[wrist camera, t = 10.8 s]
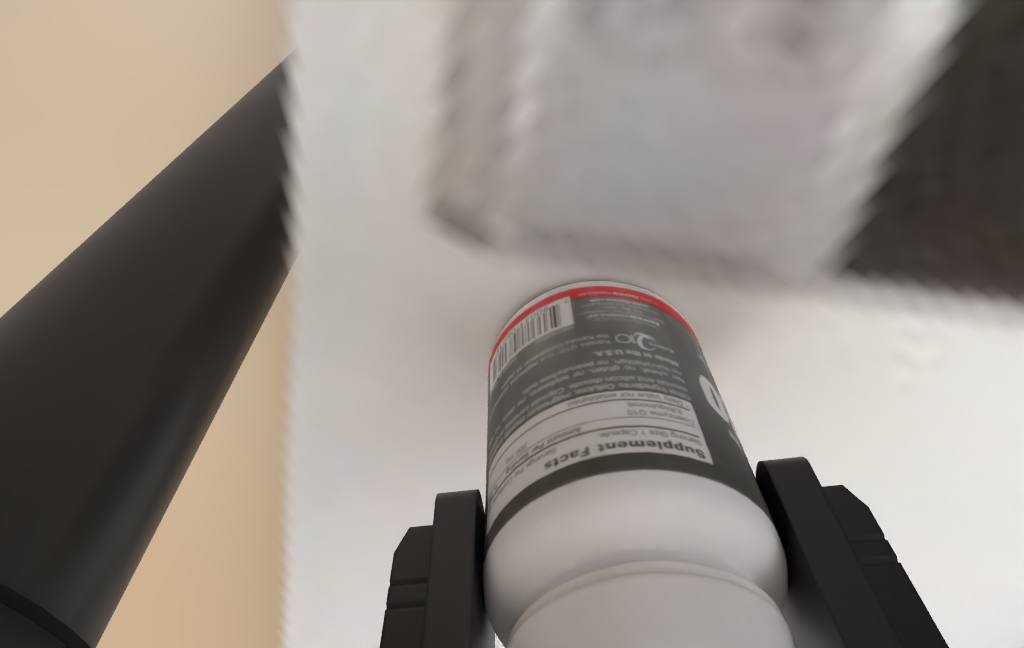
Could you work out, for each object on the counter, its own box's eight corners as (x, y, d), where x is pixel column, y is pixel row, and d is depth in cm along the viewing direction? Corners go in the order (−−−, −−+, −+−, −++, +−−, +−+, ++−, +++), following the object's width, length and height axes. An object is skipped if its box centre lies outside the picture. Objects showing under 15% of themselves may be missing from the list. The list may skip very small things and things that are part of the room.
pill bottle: (689, 437, 17) (819, 827, 10) (496, 448, 17) (494, 842, 10) (705, 265, 15) (893, 629, 8) (478, 279, 15) (462, 653, 8)
